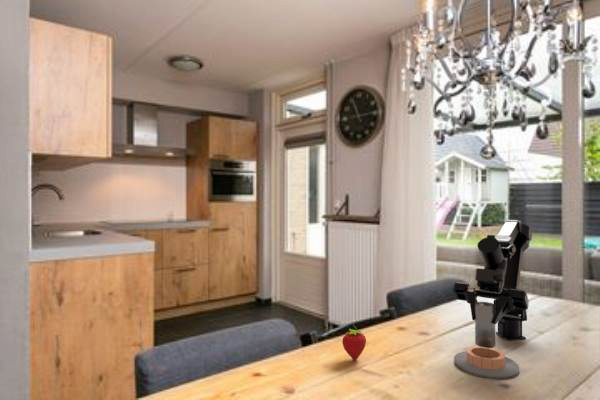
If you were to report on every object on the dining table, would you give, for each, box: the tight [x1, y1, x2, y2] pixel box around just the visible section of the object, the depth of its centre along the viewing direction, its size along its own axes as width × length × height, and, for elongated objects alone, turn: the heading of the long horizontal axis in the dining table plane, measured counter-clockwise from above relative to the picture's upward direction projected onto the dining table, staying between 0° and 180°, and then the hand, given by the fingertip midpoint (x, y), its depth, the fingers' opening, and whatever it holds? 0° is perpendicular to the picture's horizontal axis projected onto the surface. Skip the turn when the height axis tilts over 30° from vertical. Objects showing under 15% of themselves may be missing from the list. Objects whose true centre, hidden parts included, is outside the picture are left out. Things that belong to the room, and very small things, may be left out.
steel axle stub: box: [474, 301, 496, 349], centre depth 106 cm, size 5×5×11 cm
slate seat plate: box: [453, 345, 520, 380], centre depth 106 cm, size 16×16×4 cm
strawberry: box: [342, 325, 367, 361], centre depth 111 cm, size 6×8×10 cm
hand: (483, 321), depth 105 cm, fingers closed on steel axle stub, 5 cm apart
